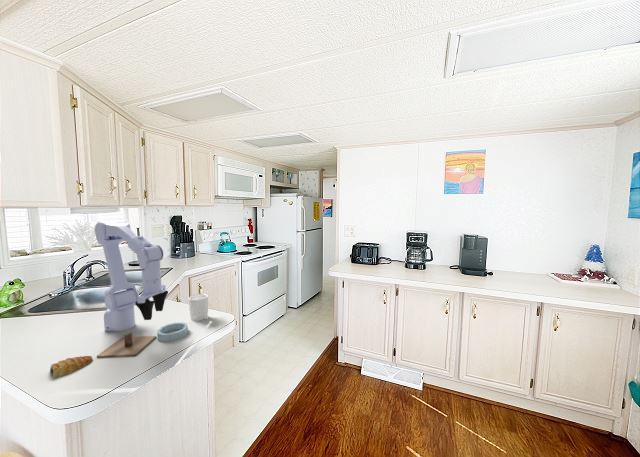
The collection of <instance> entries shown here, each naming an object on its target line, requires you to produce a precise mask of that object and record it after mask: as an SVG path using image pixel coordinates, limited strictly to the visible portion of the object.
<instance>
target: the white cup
mask: <svg viewBox="0 0 640 457" xmlns="http://www.w3.org/2000/svg"><path fill="white" fill-rule="evenodd" d="M187 299H188V305H189V315H190V316H189V317H190V320H191V321H196V322H197V321H202V320H207V319H208V317H209V313H208V312H209V295H208V294H205V293H198V294H194V295H191V296H189V297H188V298H187Z"/></svg>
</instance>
